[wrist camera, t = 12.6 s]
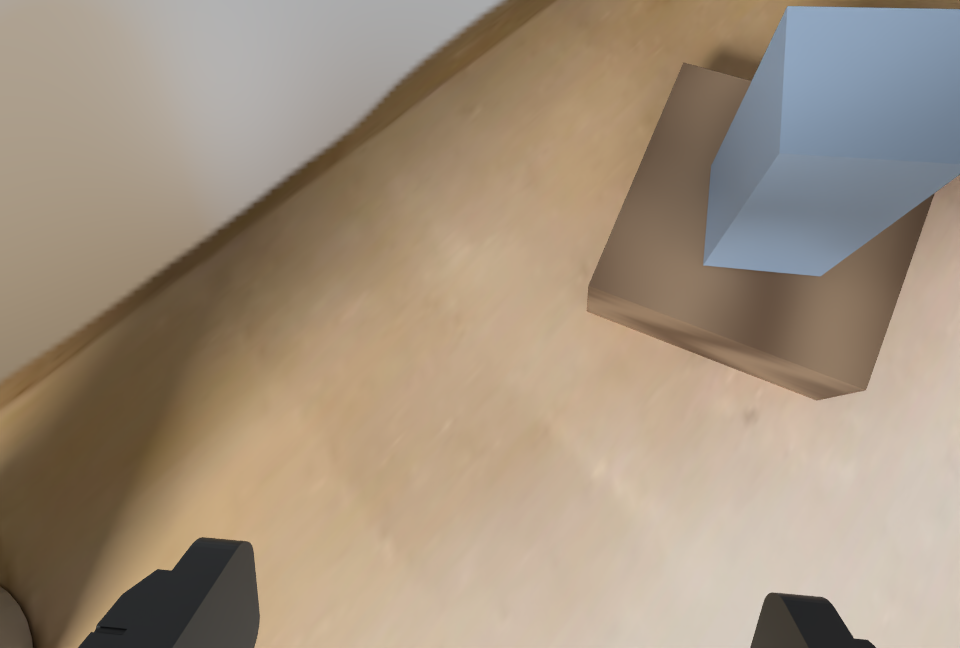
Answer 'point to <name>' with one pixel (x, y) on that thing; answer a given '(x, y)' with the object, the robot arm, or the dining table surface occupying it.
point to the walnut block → (739, 292)
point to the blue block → (836, 137)
